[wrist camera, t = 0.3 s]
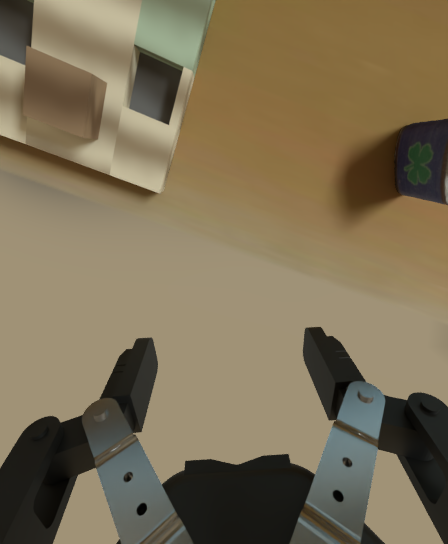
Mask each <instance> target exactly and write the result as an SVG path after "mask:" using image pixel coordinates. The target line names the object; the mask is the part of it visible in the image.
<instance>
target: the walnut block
mask: <svg viewBox="0 0 448 544" xmlns="http://www.w3.org/2000/svg"><path fill="white" fill-rule="evenodd" d="M106 88H107V83H106V82H105V81H103V80H101V79H100V78H98V77H97V76H95V75H93V74H92V73H89V72H87V71H85V70H82V69H80V68H78V67H75V66H73V65H71V64H68V63H66V62H64V61H61V60H59V59H57V58H54V57H52V56H50V55H47V54H45V53H43V52H40V51H38V50H36V49H33V48H31V47H29V46H26V63H25V82H24V101H23V115H24V116H27V117H30V118H32V119H35V120H37V121H40V122H43V123H45V124H48V125H50V126H53V127H56V128H58V129H61V130H63V131H66V132H69V133H71V134H74V135H76V136H79V137H82V138H88V139H98V138H99V131H100V125H101V119H102V113H103V106H104V100H105V94H106Z"/></svg>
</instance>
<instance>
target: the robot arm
mask: <svg viewBox="0 0 448 544" xmlns="http://www.w3.org/2000/svg"><path fill="white" fill-rule="evenodd" d="M303 356H304V361H305V364H306V366H307V369H308V371H309V374H310V376H311V378H312V381H313V383H314V386H315V388H316V390H317V393H318V395H319V397H320V400H321V402H322V405H323V407H324V410H325V412H326V414H327V417H328V419H329V420H336V421H335V422H334V423H333V426H332V429H331V432H330V435H329V438H328V440H327V443H326V446H325V449H324V451H323V454H322V457H321V460H320V463H319V466H318V469H317V471H316V474H313V473H312V472H310V471H309V470H307V469H305V468H303V467H301V466H298V465H295V464H292V463H290V459H289V455H288V454H284V455H283V454H282V455H267V456H261V457H258V458H256V459H253V460H250V461H248V462H245V463H242V464H239V465H234V464H230V463H225V462H221V461H216V460H212V459H207V460H193V461H185V470H184V471H181V472H179V473H177V474H175V475H174V476H172V477H171V478H169V479H168V480H167V481H166V482H164V483H163V484H162V485H161V483H160V481H159V479H158V477H157V475H156V473H155V471H154V469H153V467H152V465H151V464H150V461H149V459H148V458H147V456H146V454H145V452H144V450H143V448H142V446H141V444H140V442H139V440H138V438H137V437H136V435H134V434H133V433H136V432H142V428H143V424H144V420H145V417H146V413H147V409H148V405H149V401H150V397H151V393H152V389H153V386H154V382H155V378H156V374H157V369H158V361H157V356H156V351H155V347H154V342H153V339H152V338H138V339H136V341H135V343H134V346H133V348H132V349H126V350H125V351H124V352H123V353H122V354H121V355H120V356H119V358H118V361H117V363H116V365H115V367H114V369H113V372H112V374H111V376H110V378H109V380H108V382H107V385H106V386H105V389H104V391H103V393H102V395H101V397H100V399H99V400H98V401H96V402H94V403H92V404H91V405H90V406H89V407H88V408H87V409H86V410H85V412H84V414H83V415H81V416H79V417H76V418H73V419H70V420H67V421H65V422H62V423H60V421H59V419H58V418H56V417H54V416H48V417H44V418H41V419H39V420H37V421H35V422H34V423H32V424H31V425H30V426H28V427H27V428H26V429H25V430H24V431H23V433H22V434H21V436H20V437H19V439H18V440H17V442H16V444H15V446H14V447H13V449H12V450H11V452H10V453H9V455H8V457H7V458H6V460H5V462H4V463H3V465H2V466H1V468H0V544H53V541H54V539H55V536H56V533H57V530H58V528H59V525H60V522H61V520H62V517H63V514H64V511H65V509H66V506H67V503H68V501H69V498H70V495H71V492H72V490H73V487H74V484H75V481H76V478H77V476H78V475H79V474H81V473H84V472H86V471H89V470H91V469H93V468H96V469H97V472H98V475H99V478H100V481H101V484H102V487H103V490H104V493H105V496H106V499H107V502H108V505H109V508H110V511H111V514H112V517H113V520H114V523H115V526H116V529H117V532H118V535H119V538H120V539H119V541H118V542H117V544H385V543H384V542H383V541H382V540H380V538H379V537H378V536H377V535H376V534H375V533H374V532H373V531H372V530H371V529H370V528H369V527H368V526H367V525H366V524H365V523H364V520H365V515H366V510H367V505H368V499H369V493H370V488H371V482H372V477H373V472H374V466H375V460H376V456H377V450H378V449H379V450H383V451H387V452H390V453H394V454H397V456H398V458H399V460H400V462H401V464H402V466H403V468H404V469H405V471H406V473H407V475H408V477H409V479H410V481H411V482H412V484H413V486H414V488H415V490H416V492H417V494H418V496H419V498H420V500H421V501H422V503H423V505H424V507H425V509H426V511H427V513H428V515H429V516H430V518H431V520H432V522H433V524H434V526H435V528H436V529H437V532H438V533H439V535H440V537H441V539H442V541H443V543H444V544H448V407H447V406H446V405H445V404H444V403H443V402H442V401H440V400H439V399H437V398H436V397H433V396H431V395H429V394H425V393H413V394H411V395H410V396H409V397H408V400H403V399H398V398H393V397H389V396H385V395H383V394H382V392H381V391H380V390H379V389H377V387H375V386H373V385H372V384H369V383H367V382H366V381H365V379H364V378H363V376H362V375H361V373H360V372H359V370H358V369H357V367H356V365H355V364H354V362H353V361H352V359H351V358H350V356H349V355H348V353H347V352H346V350H345V348H344V347H343V345H342V344H341V343H340V342H339V341H338V340H337V339H335V338H334V337H333V336H326V335H325V333H324V331H323V329H322V328H321V327H311V328H306V329H305V334H304V345H303Z"/></svg>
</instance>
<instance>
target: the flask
mask: <svg viewBox="0 0 448 544" xmlns="http://www.w3.org/2000/svg"><path fill="white" fill-rule="evenodd" d="M395 150H396V151H395V160H394V163H395V182H396V183H395V185H396V188H397V191H398V193H400V194H401V195H405V196H411V197H415V198H420V199H423V200H428V201H433V202H437V203H441V204H446V205H448V119H443V120H437V121H428V122H420V123H413V124H410V125H408V126H405V127H403V128H402V129H401V131H400V133H399V136H398V139H397V145H396V149H395Z"/></svg>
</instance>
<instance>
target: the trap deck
mask: <svg viewBox="0 0 448 544" xmlns="http://www.w3.org/2000/svg"><path fill="white" fill-rule="evenodd" d="M214 4H215V0H0V135H2V136H5V137H7V138H10V139H13V140H15V141H18V142H21V143H24V144H26V145H29V146H32V147H35V148H37V149H40V150H43V151H45V152H48V153H51V154H54V155H56V156H59V157H62V158H64V159H67V160H70V161H73V162H75V163H78V164H81V165H83V166H86V167H89V168H92V169H94V170H97V171H100V172H102V173H105V174H108V175H111V176H113V177H116V178H119V179H122V180H124V181H127V182H130V183H132V184H135V185H138V186H141V187H143V188H146V189H149V190H151V191H154V192H157V193H161V192H162V191H164V188H165V184H166V181H167V177H168V173H169V170H170V166H171V162H172V158H173V155H174V151H175V147H176V144H177V140H178V136H179V133H180V129H181V125H182V122H183V118H184V114H185V111H186V107H187V103H188V99H189V96H190V92H191V88H192V85H193V81H194V77H195V74H196V70H197V66H198V63H199V59H200V55H201V52H202V48H203V44H204V41H205V37H206V33H207V29H208V26H209V22H210V18H211V15H212V11H213V7H214ZM26 46H29V47H31V48H33V49H36V50H38V51H40V52H43V53H45V54H47V55H50V56H52V57H54V58H57V59H59V60H61V61H64V62H66V63H68V64H71V65H73V66H75V67H78V68H80V69H82V70H85V71H87V72H89V73H92V74H93V75H95V76H97V77H98V78H100V79H101V80H103V81H105V82H106V83H107V88H106V94H105V100H104V106H103V113H102V119H101V125H100V131H99V138H98V139H88V138H82V137H79V136H76V135H74V134H71V133H69V132H66V131H63V130H61V129H58V128H56V127H53V126H50V125H48V124H45V123H43V122H40V121H37V120H35V119H32V118H30V117H27V116H24V115H23V101H24V82H25V63H26Z"/></svg>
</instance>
